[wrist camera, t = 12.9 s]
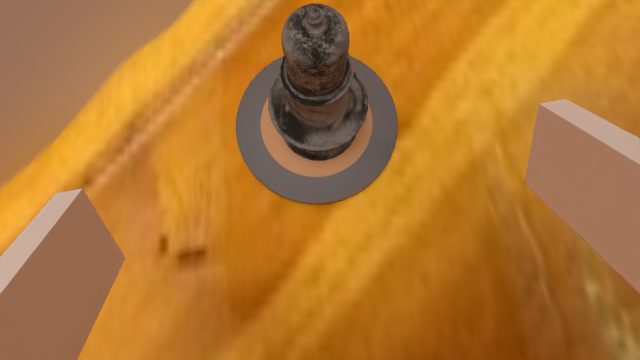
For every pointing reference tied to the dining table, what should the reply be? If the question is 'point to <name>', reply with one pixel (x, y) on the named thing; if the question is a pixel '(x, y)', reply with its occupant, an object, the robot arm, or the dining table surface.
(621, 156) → the robot arm
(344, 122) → the salt shaker
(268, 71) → the coaster
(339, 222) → the dining table surface
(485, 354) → the dining table surface
